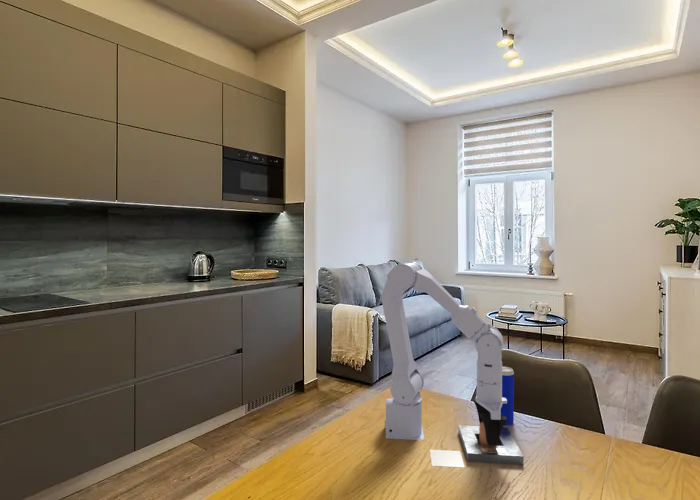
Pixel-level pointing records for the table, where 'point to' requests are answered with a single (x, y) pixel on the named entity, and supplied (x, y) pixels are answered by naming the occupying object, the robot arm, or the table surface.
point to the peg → (482, 435)
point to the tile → (446, 458)
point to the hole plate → (490, 447)
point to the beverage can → (508, 394)
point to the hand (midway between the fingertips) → (488, 436)
